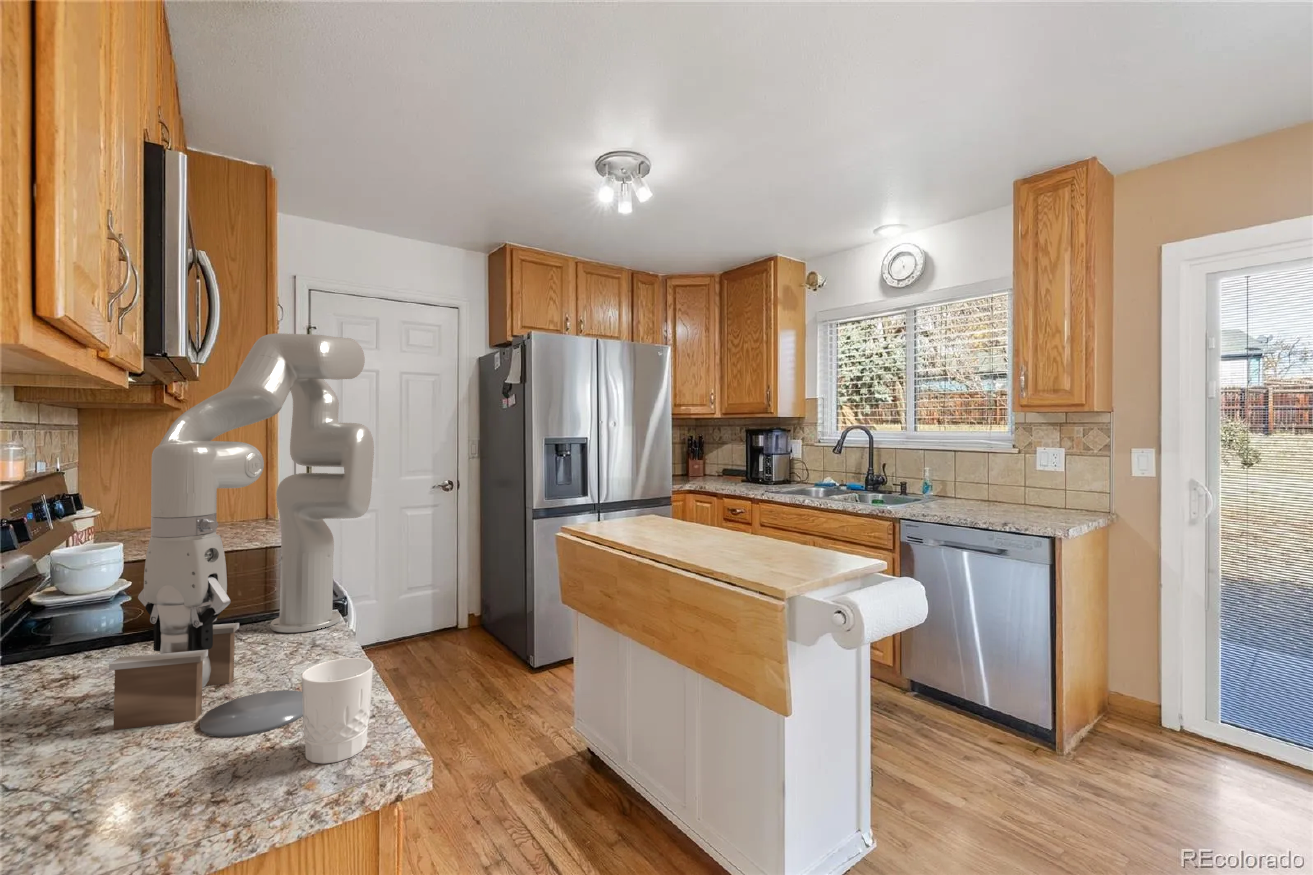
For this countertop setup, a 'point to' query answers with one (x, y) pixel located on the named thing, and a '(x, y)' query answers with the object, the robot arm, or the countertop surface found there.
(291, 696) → the coaster
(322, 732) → the white cup
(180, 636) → the grey bulging hollow cylinder
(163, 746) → the countertop surface
